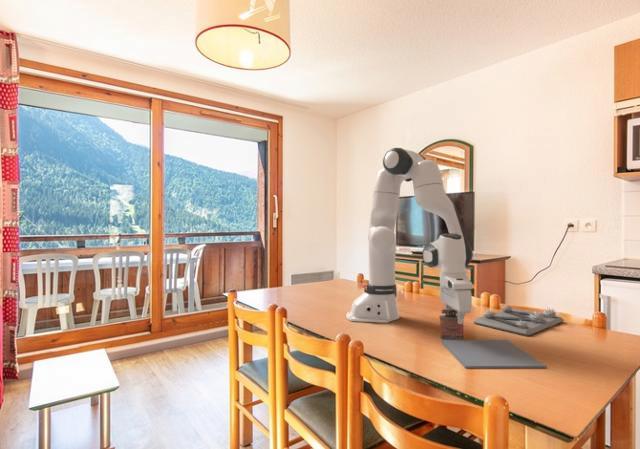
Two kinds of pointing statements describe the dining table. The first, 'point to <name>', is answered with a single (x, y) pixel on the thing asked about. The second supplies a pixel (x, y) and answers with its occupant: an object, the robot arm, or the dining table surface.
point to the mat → (490, 354)
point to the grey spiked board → (519, 320)
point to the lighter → (450, 325)
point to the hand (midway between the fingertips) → (454, 319)
